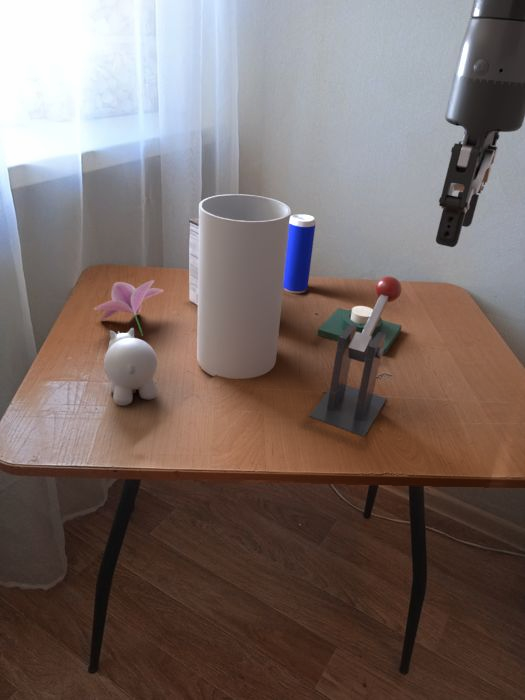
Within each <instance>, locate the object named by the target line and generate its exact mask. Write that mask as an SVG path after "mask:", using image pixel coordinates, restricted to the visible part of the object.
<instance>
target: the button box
mask: <svg viewBox="0 0 525 700" xmlns="http://www.w3.org/2000/svg"><path fill="white" fill-rule="evenodd" d="M351 312H352V308H350V309H345V308H341V307H338V308H337V309H336V310H335V311H334V312H333V313H332V314H331V316H329V317H328V318H327V319H326V320H325V321H324V323H322V325H320V326H319V328H318V329H317V337H322V338H325V339H328V340H332V341H334V342H338V338H339V336H340V335H341V334H342V332H343V331H344V330H345V329H346V328H347V327H348V326H349V324H353V325H356V326H357V328H356V332H359V333H362V331H363V329H364V327H365V324H359V323H355V322H353V321H352V320H351V319H350V318H351ZM401 331H402V325H400V324H397V323H394V322H390V321H386V320H383V319H382V317H381V316H380V318H379V320H378V323H377V325H376V327H375V329H374V331H373V333H372V335H371V336H372V340H373V339H374V337H375V336H376V335H377V333H378V332H380V333H384V334H386V335H385V340H384V344H383V349H384V351H383V355H382V357H383V356H385V355H387V352H388V351H389V349H390V348H391V346H392V345H393V344H394V342H395V340H396V339H397V338H398V336H399V334H400V333H401Z"/></svg>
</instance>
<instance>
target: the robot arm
mask: <svg viewBox="0 0 525 700" xmlns="http://www.w3.org/2000/svg"><path fill="white" fill-rule="evenodd" d="M462 37H463V38H462V41H461V44H460V47H459V51H458V56H457V61H456V66H455V68H454V69H455V70H454V74H453V77H452V78H453V79H452V83H451V88H450V92H449V96H448V101H447V105H446V111H445V114H444V118H445V120H446V122H447V123H449V124H451V125H453V126H456V127H462V128H463V129H464V133H463V135H462V137H461V140H459V141H458V143H454V145H453V146H452V148H451V150H450V152H451V155H450V158H449V163H448V167H447V171H446V175H445V179H444V183H443V186H442V191H441V195H440V197H439V199H438V204H439V207H441V209H442V212H441V216H440V220H439V224H438V228H437V233H436V236H435V242H436V244H437V245H440V246H445V247H449V248H454V247H456V246H457V244H458V243H459V240H460V236H461V232H462V228H463V227H464V228H468V227H470V226H471V224H473V223H472V222H473V220H474V217H475V216H474V215H475V212H476V208H477V206H478V201H479V198H480V195H481V194H482V192H483V191H484V189H485V185H486V183H488V180H489V178H490V174H491V173H492V167H493V164H494V162H495V160H496V156H497V154H498V150H499V147H498V145H497V142H498V140H499V139H500V133H511V132H516V131H519V130H520V129H521V128H522V127H523V124H524V120H525V0H473V1H472V7H471V11H470V17H469V19H468V23H467V27H466V28H465V32H464V35H463V36H462ZM454 191H458V193H457V196H456V195H453V192H454Z"/></svg>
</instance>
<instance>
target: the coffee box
mask: <svg viewBox="0 0 525 700" xmlns="http://www.w3.org/2000/svg"><path fill="white" fill-rule="evenodd" d="M198 244H199V217H195V218H190V219H188V252H189V253H188V258H189V261H188V262H189V263H188V264H189V265H188V266H189V268H188V269H189V270H188V271H189V272H188V274H189V277H188V279H189V280H188V281H189V282H188V284H189V285H188V287H189V288H188V289H189V290H188V291H189V301H190V302H191V303H193V304H194V305H196V306H198Z"/></svg>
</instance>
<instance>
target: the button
mask: <svg viewBox="0 0 525 700" xmlns="http://www.w3.org/2000/svg"><path fill="white" fill-rule="evenodd" d="M351 309H352V312H351V318H350V319H351V320H352V321H353V322H355V323H359V324H365V325H366V323H367V321H368V319H369V317H370V315H371V313H372V311H373V309H374V308H372V307H369V306H365V305H357V306H353V307H352V308H351Z"/></svg>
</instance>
